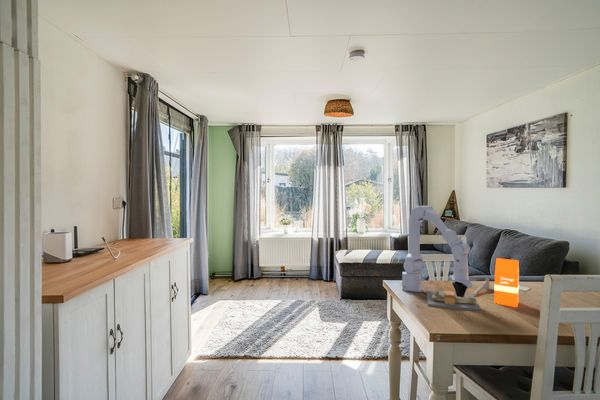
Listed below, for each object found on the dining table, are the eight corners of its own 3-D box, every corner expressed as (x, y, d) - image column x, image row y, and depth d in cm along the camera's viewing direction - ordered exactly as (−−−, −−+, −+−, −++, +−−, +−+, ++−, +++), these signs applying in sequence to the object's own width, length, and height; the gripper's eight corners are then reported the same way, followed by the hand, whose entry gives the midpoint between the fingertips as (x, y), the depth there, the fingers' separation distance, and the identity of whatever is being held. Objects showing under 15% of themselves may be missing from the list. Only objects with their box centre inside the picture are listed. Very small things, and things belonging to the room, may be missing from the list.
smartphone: (525, 290, 167) (494, 283, 179) (525, 293, 167) (494, 285, 179) (531, 288, 172) (500, 281, 184) (531, 290, 172) (499, 283, 184)
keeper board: (428, 306, 146) (428, 295, 146) (426, 292, 166) (426, 282, 166) (481, 311, 139) (481, 300, 139) (472, 296, 159) (472, 286, 159)
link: (432, 300, 149) (432, 292, 149) (431, 297, 153) (431, 290, 153) (476, 304, 144) (477, 296, 144) (475, 301, 148) (475, 293, 147)
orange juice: (517, 307, 144) (518, 261, 144) (494, 303, 150) (494, 259, 149) (518, 302, 151) (519, 259, 150) (496, 298, 156) (496, 256, 156)
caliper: (487, 288, 173) (487, 276, 173) (489, 289, 172) (489, 277, 172) (471, 296, 160) (471, 284, 159) (473, 297, 159) (474, 284, 159)
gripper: (443, 265, 157) (443, 294, 158) (461, 273, 143) (461, 304, 143) (457, 265, 158) (457, 293, 159) (477, 272, 144) (476, 303, 144)
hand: (460, 298), depth 151 cm, fingers closed
